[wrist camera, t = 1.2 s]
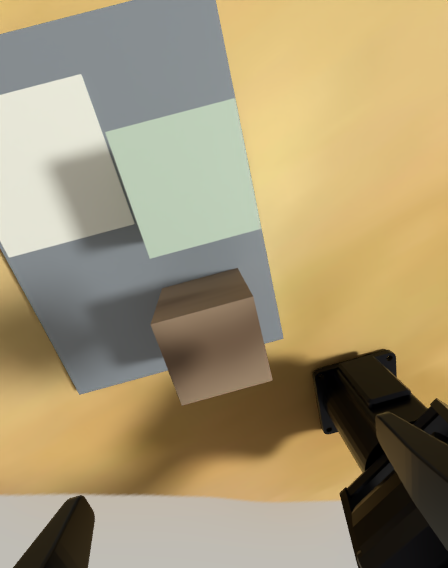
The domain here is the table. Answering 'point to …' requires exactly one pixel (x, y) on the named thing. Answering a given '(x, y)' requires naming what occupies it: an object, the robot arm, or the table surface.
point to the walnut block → (210, 336)
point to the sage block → (187, 177)
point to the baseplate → (106, 179)
